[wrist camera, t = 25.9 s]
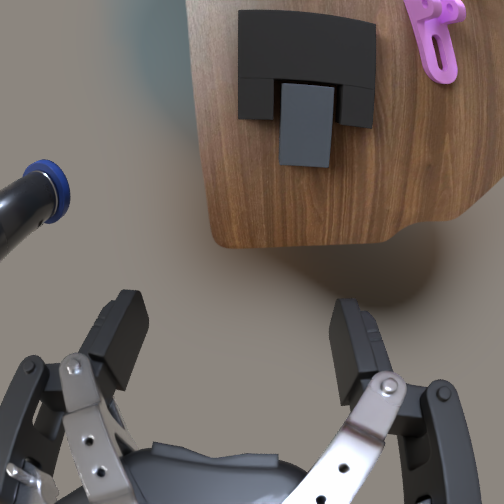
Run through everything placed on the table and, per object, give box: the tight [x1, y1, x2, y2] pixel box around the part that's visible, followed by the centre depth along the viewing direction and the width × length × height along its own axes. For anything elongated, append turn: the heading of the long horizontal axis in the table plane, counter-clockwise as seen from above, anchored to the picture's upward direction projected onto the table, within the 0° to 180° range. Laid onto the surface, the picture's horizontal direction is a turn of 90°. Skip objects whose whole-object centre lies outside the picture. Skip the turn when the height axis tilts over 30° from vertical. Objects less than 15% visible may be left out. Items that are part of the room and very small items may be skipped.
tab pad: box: [279, 83, 334, 168], centre depth 31 cm, size 6×10×3 cm, turn 0°
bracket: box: [403, 0, 466, 84], centre depth 21 cm, size 13×6×7 cm, turn 15°
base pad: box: [238, 10, 376, 129], centre depth 27 cm, size 16×14×3 cm
